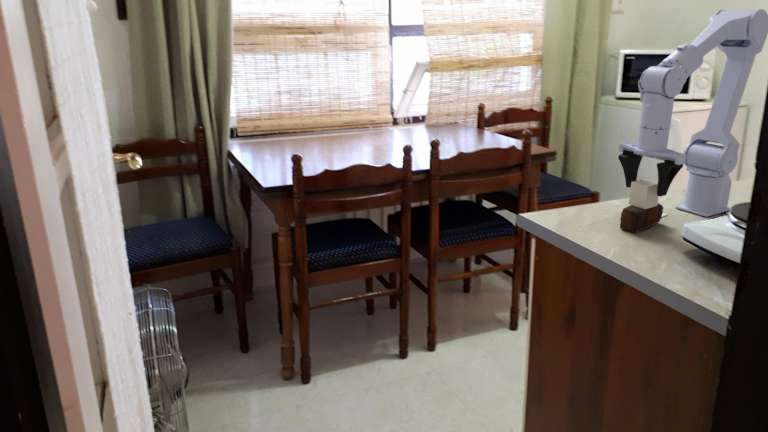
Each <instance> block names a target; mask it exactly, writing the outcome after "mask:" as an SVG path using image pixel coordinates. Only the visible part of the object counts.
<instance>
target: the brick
mask: <svg viewBox="0 0 768 432" xmlns="http://www.w3.org/2000/svg"><path fill="white" fill-rule="evenodd" d="M663 210H664V206H663V205H662V204H660V203H659V202H658V204H657V206H654V207H651V208H648V209H642V208H639V207H636V206H633V205H628V206H626V207H623V208H622V211H621V213H620V224H619V229H621V230H624V231H627V232H631V233H638V232H639V231H642V230H645V229H647V228H649V227H652V226H653V225H655V224H657V223H659V222H661V216H662V213H664V211H663Z"/></svg>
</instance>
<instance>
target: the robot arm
mask: <svg viewBox="0 0 768 432" xmlns="http://www.w3.org/2000/svg"><path fill="white" fill-rule="evenodd" d="M767 37H768V12H767V11H766V10H765V9H764V8H760V9H759V8H758V9H745V10H744V9H737V10H735V9H731V10H730V9H729V10H728V9H718V10H717V11H716V12H715V13H714V14H713V15H711V16H710V17H709V19H708V24H707V27H706V28H704V30H703V31H702V32H701V33H700V34H699V35H698V36H697V37H696V38H695V39H694V40H693V41H692V42H691V43H690V44H689V43H684V44H679V45H678V46H676V49H675V50H674V51H673V52H672V53H669V55H668V56H667V57H666V58H664V59H663V60H662V61H661V62H660V63H659V64H657V65H653V66H652V65H651V66H649V67H648V68H647V69H645V70H643V72H642V73H641V75H640V77H639V80H638V81H637V83H638V84H637V87H638V92H639V94H640V95H639V97H640V98H639V100H640V103H641V109H640V110H641V112H640V121H639V127H638V135H637V142H630V141H621V142H619V144H618V152H620V153H621V154H618V160H619V163H620V164H621V167H622V170H623V175H624V180H625V181H624V182H625V187H626V188H631V182H633V181H637V180H638V173H639V168H640V165H641V162H642V159H643V157H646V158H651V159H655V160H660V161H663V162H657V163H656V169H657V182H658V186H657V196H658V197H664V196H667V194H668V191H669V189H670V187H671V185H672V182H673V181H674V179H675V178H676V176H677V174H678V173H679V172H680V171H681V169H682V168H683V166H685V167H686V171H688V172H689V173H688V178H687V183H686V191H685V196H684V202H683V203H681V204H676V205H674V207H675V208H676V209H678V210H682V211H685V212H688V213H692V214H695V215H699V216H703V217H705V218H706V217H707V218H708V217H710V216H711V217H712V216H715V215H719V214H722V213H724V212H723V211H726V212H729V211H730V210H729V209H731V210H732V208H731V207H728V204H729V199H730V194H731V190H732V179H731V177H730V175H729V174H731V173H732V172H733V171H734V169H735V168H736V166H737V164H738V158H739V156H738V155H739V149H740V147H741V144H740V142H739V141H738V140H737V138H736V137H735V136H734V135H733V134H732V132H731V131H732V129H733V125H734V122H735V119H736V116H737V115H738V114H737V113H738V110H739V108H740V104H741V101H742V98H743V95H744V92H745V90H746V86H747V83H748V81H749V78H750V77H749V76H750V74H751V72H752V68H753V65H754V62H755V59H756V56H757V54H760V53H762V50H763V48H764V45H765V43H766V40H767ZM716 47H717V48H718V50H720V51H721V52H723V53H724V54H725V55H726V62H725V64H724V68H723V70H722V73H721V77H720V80H719V83H718V86H717V89H716V93H715V95H714V98H713V102H712V105H711V107H710V110H709V114H708V116H707V117H708V118H707V121H706V123H705V125H704V126H705V127H704V128H702V129H700V130H698V131H696V132H695V133H693V134H691V137H690V140H689V142H688V144H687V145H686V147H684V150H683V153H682V152H679V151H676V150H673V149H670V148H668V142H669V138H670V137H669V136H670V128H671V124H672V116H673V109H674V102H675V97H677V96H679V94H680V93H681V92H682V90H683V87H684V85H685V84H686V82H687V79H688V78H689V77H690V76H691V75H693V73H694V72H695V71H697V70H698V69H699V68H700V67H701V66H702V65H703V61H704V56H706V55H707V54H709V53H710V52H711V51H713V50H714V49H715V48H716ZM713 143H714V144H713ZM717 144H720V145H717ZM728 210H729V211H728ZM721 212H722V213H721Z"/></svg>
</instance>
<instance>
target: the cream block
mask: <svg viewBox="0 0 768 432" xmlns="http://www.w3.org/2000/svg"><path fill="white" fill-rule="evenodd" d="M657 186H658V181H654V180H650V179H646V178H642V179H637V180H636V181H633V182H631V187H630V191H629V199H628V206H631V205H633V206H636V207H639V208H642V209H648V208H651V207H654V206H657V204H658V203H659V196H657Z"/></svg>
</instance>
